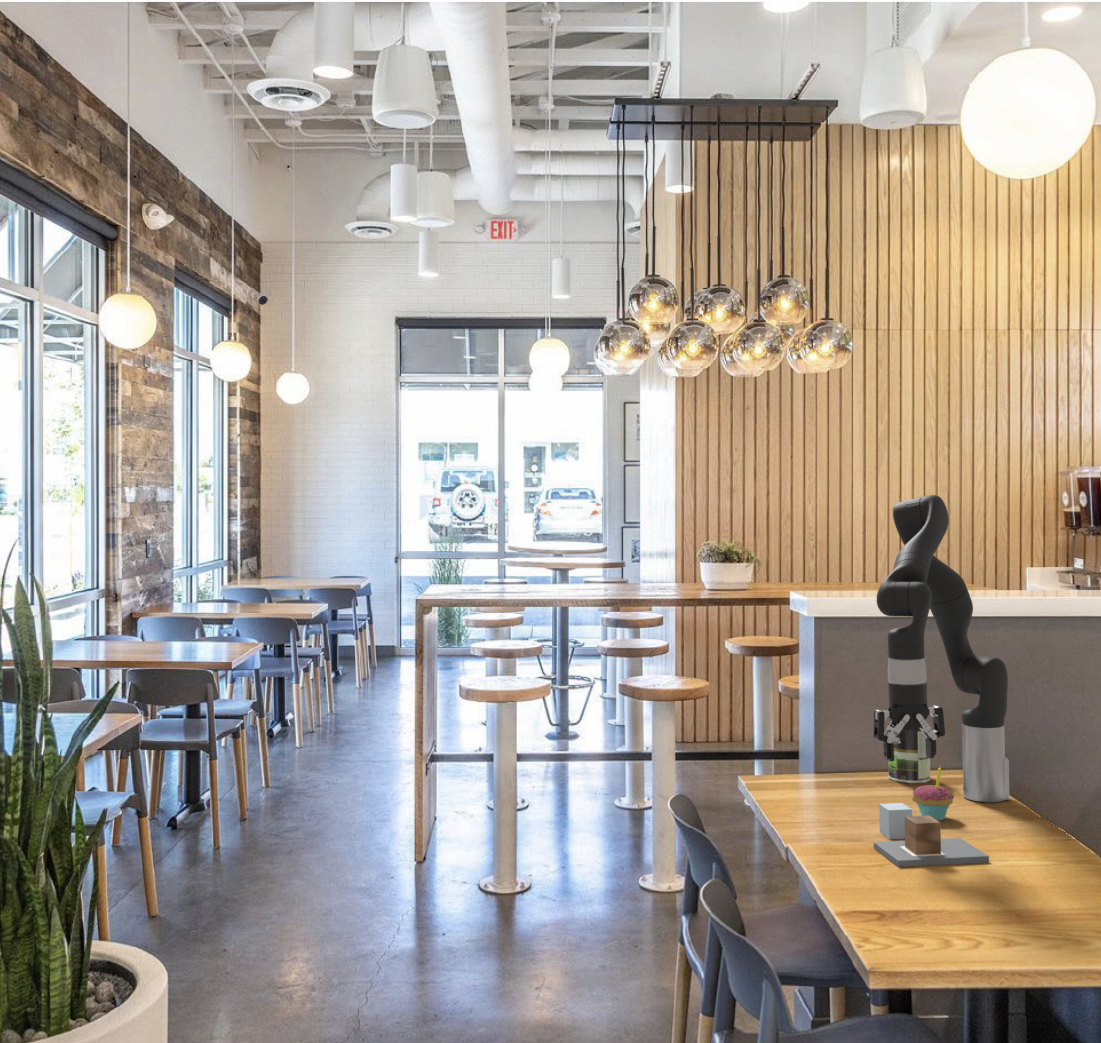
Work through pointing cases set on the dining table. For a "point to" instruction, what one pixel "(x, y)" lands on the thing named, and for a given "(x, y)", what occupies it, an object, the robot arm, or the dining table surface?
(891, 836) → the greyblue block
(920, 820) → the walnut block
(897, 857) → the grey flat plate
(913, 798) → the cupcake
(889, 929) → the dining table surface
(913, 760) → the coffee can
